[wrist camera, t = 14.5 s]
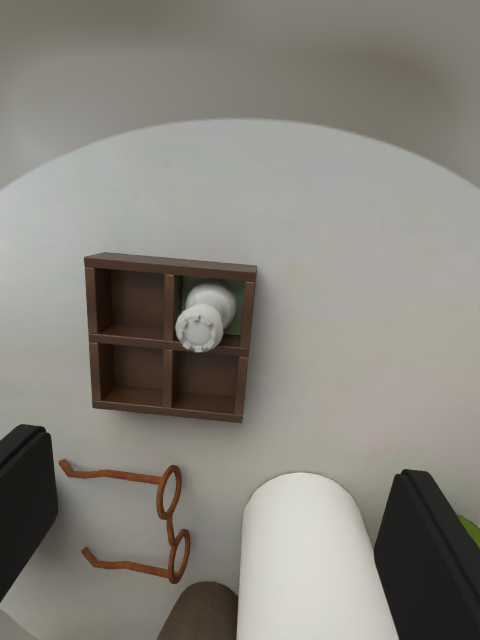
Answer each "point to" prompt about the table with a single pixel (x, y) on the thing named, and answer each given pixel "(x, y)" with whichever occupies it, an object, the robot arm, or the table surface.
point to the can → (308, 566)
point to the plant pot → (203, 614)
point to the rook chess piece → (206, 315)
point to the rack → (164, 337)
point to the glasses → (161, 481)
